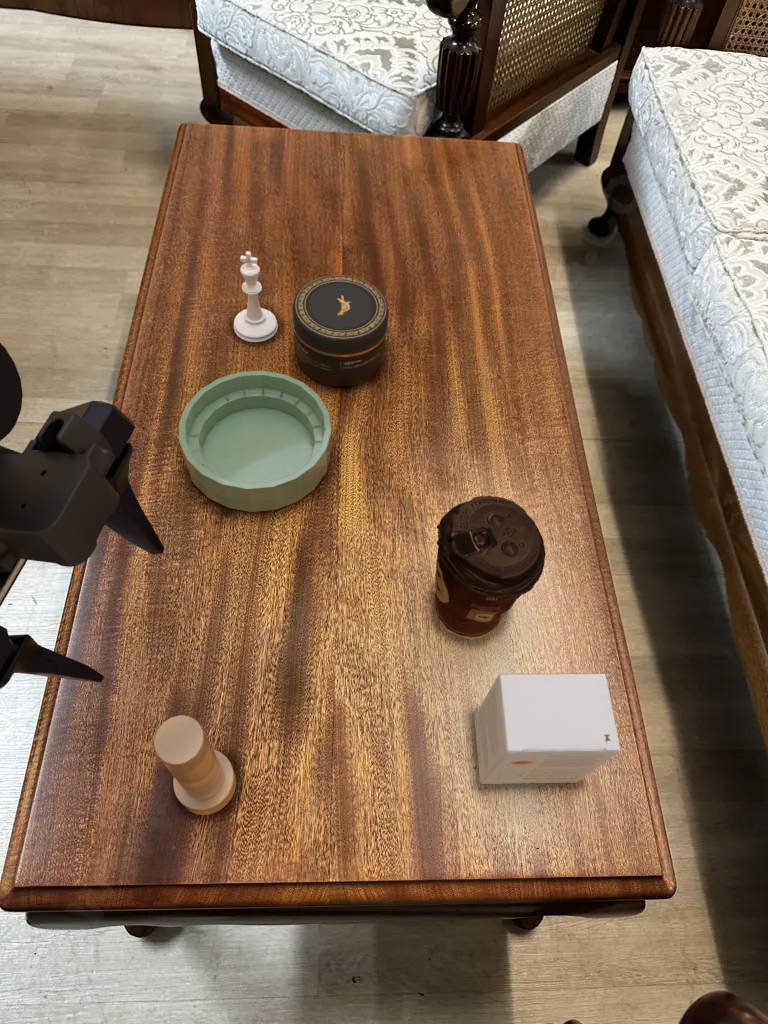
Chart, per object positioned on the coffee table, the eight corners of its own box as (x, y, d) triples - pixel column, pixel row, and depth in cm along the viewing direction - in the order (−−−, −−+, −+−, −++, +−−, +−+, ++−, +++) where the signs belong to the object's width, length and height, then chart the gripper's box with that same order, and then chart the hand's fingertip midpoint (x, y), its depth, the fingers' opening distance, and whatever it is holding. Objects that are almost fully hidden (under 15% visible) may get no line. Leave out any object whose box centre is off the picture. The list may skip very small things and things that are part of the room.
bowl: (156, 475, 70) (147, 447, 66) (238, 381, 77) (234, 351, 73) (282, 538, 67) (280, 512, 63) (355, 434, 74) (357, 406, 70)
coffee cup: (405, 629, 63) (423, 558, 52) (434, 552, 67) (456, 472, 57) (500, 664, 62) (538, 599, 51) (523, 584, 66) (563, 508, 55)
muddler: (165, 796, 54) (126, 754, 43) (199, 744, 57) (170, 691, 46) (214, 826, 54) (187, 790, 43) (247, 772, 56) (229, 724, 45)
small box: (566, 714, 60) (609, 671, 51) (577, 785, 57) (624, 751, 48) (471, 714, 60) (498, 670, 51) (478, 785, 57) (507, 752, 48)
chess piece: (239, 308, 83) (230, 234, 74) (281, 315, 83) (277, 241, 74) (228, 338, 80) (218, 264, 72) (272, 345, 80) (266, 272, 72)
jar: (363, 318, 83) (367, 264, 77) (398, 379, 79) (405, 326, 72) (281, 338, 81) (278, 283, 74) (312, 402, 76) (312, 350, 70)
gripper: (-143, 626, 27) (155, 767, 37) (85, 296, 37) (270, 480, 47) (-250, 633, 33) (32, 753, 43) (-29, 349, 43) (157, 501, 53)
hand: (130, 612), depth 46 cm, fingers open, 9 cm apart
